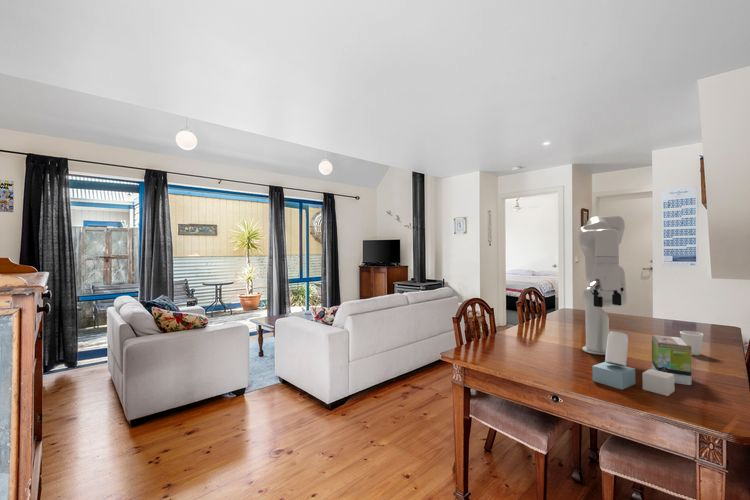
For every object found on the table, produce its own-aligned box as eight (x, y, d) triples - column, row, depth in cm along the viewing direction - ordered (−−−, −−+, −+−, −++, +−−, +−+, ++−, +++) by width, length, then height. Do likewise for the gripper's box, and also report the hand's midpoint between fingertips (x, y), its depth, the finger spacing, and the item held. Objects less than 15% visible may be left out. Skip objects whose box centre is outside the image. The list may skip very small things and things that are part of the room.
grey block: (650, 385, 126) (649, 368, 126) (674, 391, 120) (674, 374, 120) (642, 389, 122) (642, 372, 122) (667, 396, 116) (667, 378, 116)
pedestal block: (605, 376, 136) (605, 361, 136) (635, 384, 127) (635, 368, 127) (592, 381, 131) (592, 365, 131) (622, 390, 122) (622, 373, 122)
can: (627, 366, 124) (630, 333, 127) (606, 361, 127) (610, 329, 130) (623, 367, 130) (626, 335, 133) (603, 362, 133) (606, 331, 136)
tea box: (693, 386, 124) (692, 345, 125) (657, 381, 130) (656, 342, 130) (683, 373, 137) (682, 336, 137) (651, 369, 142) (650, 333, 143)
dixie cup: (694, 351, 167) (693, 330, 167) (709, 356, 158) (708, 335, 158) (675, 351, 168) (675, 330, 168) (689, 356, 159) (689, 334, 159)
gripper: (613, 260, 138) (614, 303, 138) (581, 261, 132) (581, 306, 132) (632, 260, 130) (633, 305, 130) (599, 262, 125) (600, 309, 125)
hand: (607, 305), depth 131 cm, fingers open, 9 cm apart
